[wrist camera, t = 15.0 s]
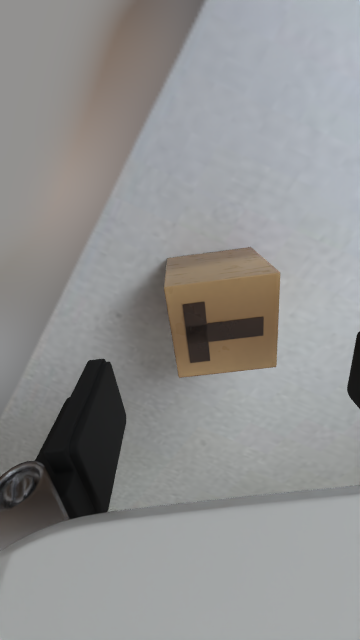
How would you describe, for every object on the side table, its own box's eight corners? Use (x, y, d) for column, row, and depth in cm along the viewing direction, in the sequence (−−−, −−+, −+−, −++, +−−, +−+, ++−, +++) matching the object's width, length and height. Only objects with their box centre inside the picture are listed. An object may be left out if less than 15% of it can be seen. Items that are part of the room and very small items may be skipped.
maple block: (166, 258, 16) (163, 287, 12) (251, 246, 16) (281, 272, 11) (177, 330, 18) (178, 379, 14) (251, 321, 18) (276, 367, 14)
